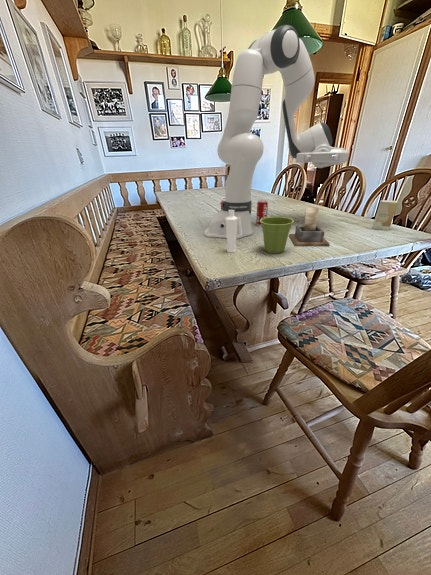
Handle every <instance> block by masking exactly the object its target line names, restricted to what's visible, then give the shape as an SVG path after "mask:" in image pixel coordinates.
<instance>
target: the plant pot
mask: <svg viewBox="0 0 431 575" xmlns="http://www.w3.org/2000/svg"><path fill="white" fill-rule="evenodd" d="M260 222H261V224H262V226H261V229H262V235H263V236H262V237H263V244H264V245H263V246H264V251H265V252H268V253H271V254H280V253H281V252H282V253H283V252H284V251H285V249H286V246H287V242H288V238H289V234H290V230H291V228H292V225H293V224H294V222H295V220H294V219H293V218H290V217H285V216H267V218H263V219H261V220H260Z"/></svg>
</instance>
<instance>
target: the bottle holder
mask: <svg viewBox="0 0 431 575" xmlns="http://www.w3.org/2000/svg"><path fill="white" fill-rule="evenodd" d="M288 238H289V239H290V241H291V242H292V244H293V246H294V247H330V242H329V241H328V240H327V239H326V238H325V231H324V230H323V229H322V227H320V226H319V225H316V229H315V231H304V225H296V226H295V231H294V233H289V234H288Z"/></svg>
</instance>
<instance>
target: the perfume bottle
mask: <svg viewBox="0 0 431 575" xmlns="http://www.w3.org/2000/svg"><path fill="white" fill-rule="evenodd" d="M234 211H235V210H229V216H228V217H226V218H225V221H226V234H227V238H226V252H227V253H236V251H237V247H236V245H237V239H236V236H237V224H238V218H237V217H235V216H234Z"/></svg>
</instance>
